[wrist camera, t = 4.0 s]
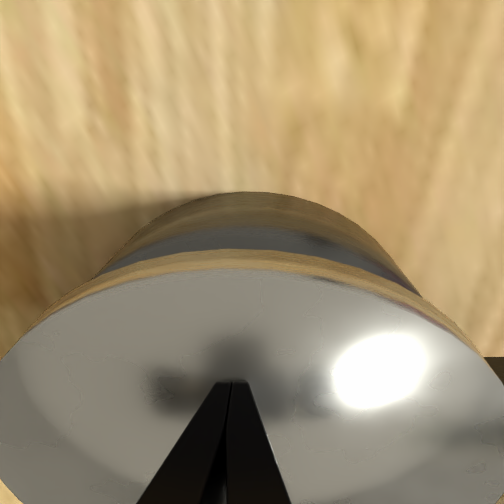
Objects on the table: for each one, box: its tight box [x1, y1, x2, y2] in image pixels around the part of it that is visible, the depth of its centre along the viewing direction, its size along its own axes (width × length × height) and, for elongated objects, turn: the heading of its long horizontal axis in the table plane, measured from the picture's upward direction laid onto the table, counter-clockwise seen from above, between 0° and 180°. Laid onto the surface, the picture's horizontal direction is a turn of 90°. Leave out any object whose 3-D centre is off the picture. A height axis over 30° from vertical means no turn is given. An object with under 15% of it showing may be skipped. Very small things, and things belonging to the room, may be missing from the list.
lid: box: [0, 249, 504, 504], centre depth 11 cm, size 16×16×3 cm
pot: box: [92, 192, 504, 385], centre depth 15 cm, size 18×23×5 cm
